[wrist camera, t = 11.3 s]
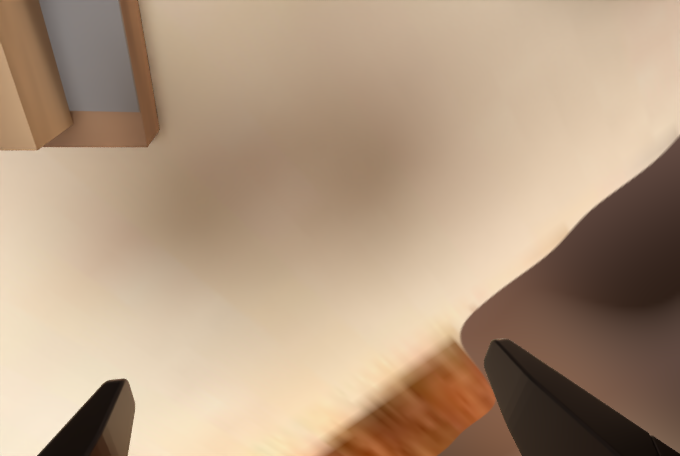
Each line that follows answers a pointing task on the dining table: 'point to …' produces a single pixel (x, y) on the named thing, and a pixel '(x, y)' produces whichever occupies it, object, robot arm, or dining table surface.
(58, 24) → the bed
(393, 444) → the dining table surface
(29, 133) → the tan inverted t block
